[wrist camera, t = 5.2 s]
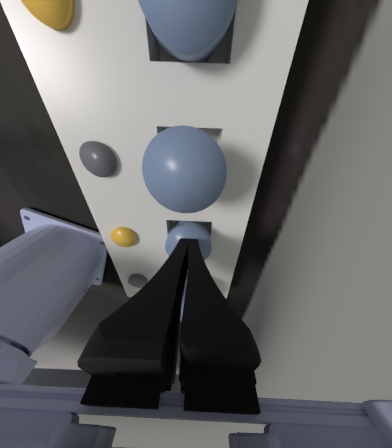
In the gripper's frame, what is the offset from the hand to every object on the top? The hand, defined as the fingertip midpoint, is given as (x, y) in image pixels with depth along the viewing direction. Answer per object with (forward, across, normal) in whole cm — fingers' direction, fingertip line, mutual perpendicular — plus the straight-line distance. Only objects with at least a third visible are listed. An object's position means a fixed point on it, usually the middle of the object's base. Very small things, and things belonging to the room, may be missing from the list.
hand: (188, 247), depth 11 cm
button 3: (+1, 0, -6) cm, 6 cm away
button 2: (+3, 0, 0) cm, 3 cm away
